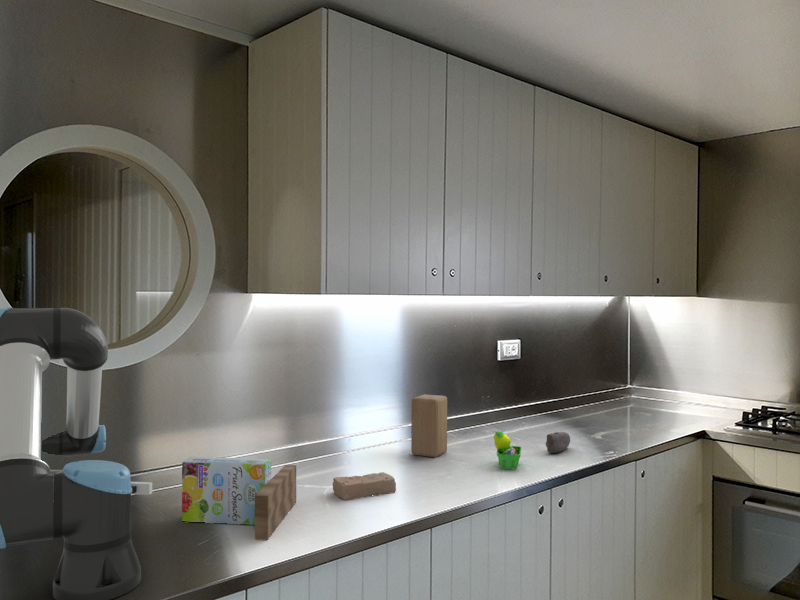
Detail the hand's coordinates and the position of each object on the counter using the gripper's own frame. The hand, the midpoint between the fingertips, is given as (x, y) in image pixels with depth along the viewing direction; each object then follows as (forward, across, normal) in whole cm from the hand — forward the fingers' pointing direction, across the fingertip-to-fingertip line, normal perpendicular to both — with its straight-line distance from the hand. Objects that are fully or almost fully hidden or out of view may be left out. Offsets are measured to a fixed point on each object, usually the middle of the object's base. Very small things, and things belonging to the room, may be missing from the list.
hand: (150, 488), depth 159 cm
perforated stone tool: (+113, -78, -7) cm, 137 cm away
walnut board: (+33, 0, -7) cm, 33 cm away
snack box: (+20, +2, -7) cm, 22 cm away
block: (+67, -70, -7) cm, 97 cm away
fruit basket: (+93, -57, -7) cm, 109 cm away
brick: (+51, -24, -7) cm, 57 cm away
